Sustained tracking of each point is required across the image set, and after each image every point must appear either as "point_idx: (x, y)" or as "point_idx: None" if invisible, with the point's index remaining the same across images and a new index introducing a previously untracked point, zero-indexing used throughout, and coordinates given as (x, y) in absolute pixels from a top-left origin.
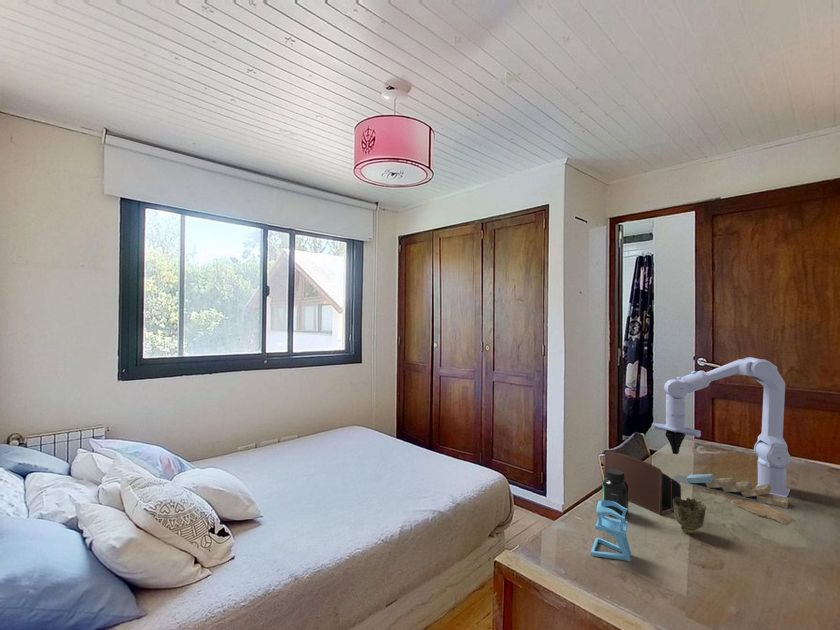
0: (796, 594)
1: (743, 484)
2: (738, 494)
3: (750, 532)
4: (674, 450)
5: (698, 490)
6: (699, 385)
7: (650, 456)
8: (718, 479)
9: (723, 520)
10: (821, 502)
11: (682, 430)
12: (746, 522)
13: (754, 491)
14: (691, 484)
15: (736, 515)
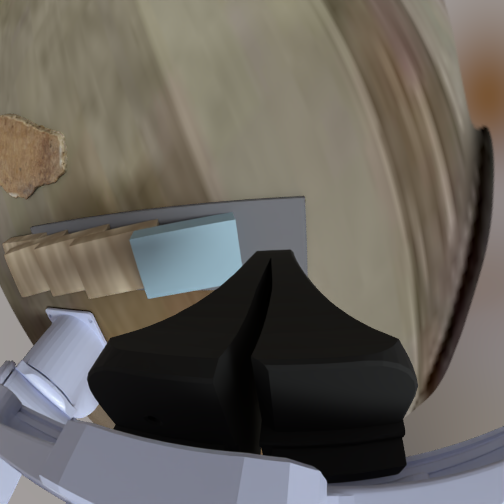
0: None
1: (51, 262)
2: None
3: (11, 14)
4: (270, 260)
5: (173, 170)
6: None
7: (421, 386)
8: (128, 277)
9: (50, 2)
10: (31, 330)
11: (29, 463)
12: (18, 52)
13: (33, 244)
14: (214, 205)
15: (36, 67)
